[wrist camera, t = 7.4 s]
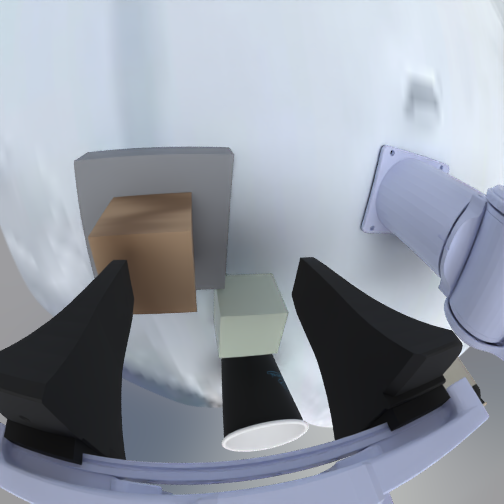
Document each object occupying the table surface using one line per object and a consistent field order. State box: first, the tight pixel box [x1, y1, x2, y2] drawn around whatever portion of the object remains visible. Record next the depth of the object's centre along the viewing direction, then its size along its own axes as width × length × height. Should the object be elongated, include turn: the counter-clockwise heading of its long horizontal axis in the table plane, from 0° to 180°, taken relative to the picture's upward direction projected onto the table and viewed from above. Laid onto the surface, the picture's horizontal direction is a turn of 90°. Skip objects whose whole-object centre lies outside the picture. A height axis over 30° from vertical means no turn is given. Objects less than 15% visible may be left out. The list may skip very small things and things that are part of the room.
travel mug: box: [443, 357, 487, 406], centre depth 35 cm, size 8×8×18 cm
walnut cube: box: [88, 192, 197, 314], centre depth 15 cm, size 5×5×5 cm
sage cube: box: [213, 274, 288, 358], centre depth 23 cm, size 5×5×5 cm
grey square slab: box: [74, 147, 234, 290], centre depth 18 cm, size 10×10×3 cm
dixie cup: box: [221, 354, 309, 452], centre depth 24 cm, size 8×8×11 cm
